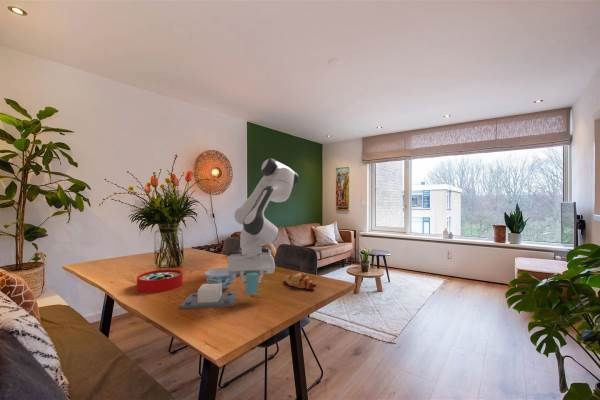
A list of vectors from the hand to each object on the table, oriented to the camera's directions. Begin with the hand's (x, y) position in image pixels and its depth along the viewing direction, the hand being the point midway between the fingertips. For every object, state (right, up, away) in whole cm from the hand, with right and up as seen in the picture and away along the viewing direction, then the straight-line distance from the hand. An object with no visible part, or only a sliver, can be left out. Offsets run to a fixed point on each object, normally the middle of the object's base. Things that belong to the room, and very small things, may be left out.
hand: (251, 282), depth 112 cm
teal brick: (0, -4, +1) cm, 4 cm away
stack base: (-18, -8, 0) cm, 19 cm away
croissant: (+20, -9, +22) cm, 31 cm away
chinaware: (-18, -8, +19) cm, 27 cm away
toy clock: (-49, -9, +21) cm, 54 cm away
